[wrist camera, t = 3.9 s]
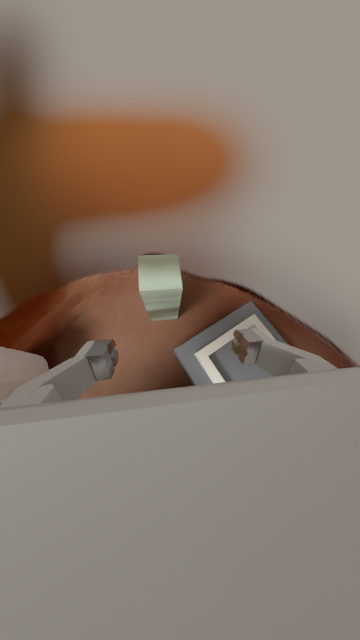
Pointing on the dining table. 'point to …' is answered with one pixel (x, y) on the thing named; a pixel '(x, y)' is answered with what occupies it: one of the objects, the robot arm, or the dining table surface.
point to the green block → (160, 285)
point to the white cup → (18, 369)
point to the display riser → (224, 349)
